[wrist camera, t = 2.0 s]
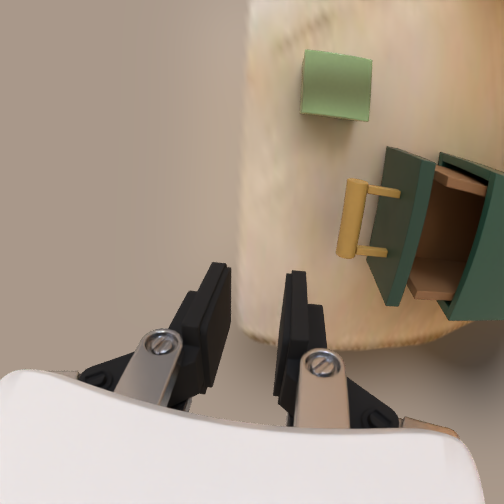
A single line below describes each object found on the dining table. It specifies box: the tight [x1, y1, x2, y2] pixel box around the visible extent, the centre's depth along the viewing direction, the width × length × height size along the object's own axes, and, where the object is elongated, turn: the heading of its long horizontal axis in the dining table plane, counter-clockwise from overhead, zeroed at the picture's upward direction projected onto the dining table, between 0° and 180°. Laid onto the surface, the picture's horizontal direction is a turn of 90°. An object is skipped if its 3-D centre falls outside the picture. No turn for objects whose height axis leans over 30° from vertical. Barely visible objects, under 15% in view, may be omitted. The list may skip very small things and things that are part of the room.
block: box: [300, 50, 372, 122], centre depth 20 cm, size 5×5×5 cm
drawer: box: [336, 146, 489, 306], centre depth 21 cm, size 18×11×8 cm, turn 87°
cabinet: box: [437, 152, 504, 321], centre depth 21 cm, size 15×13×10 cm
